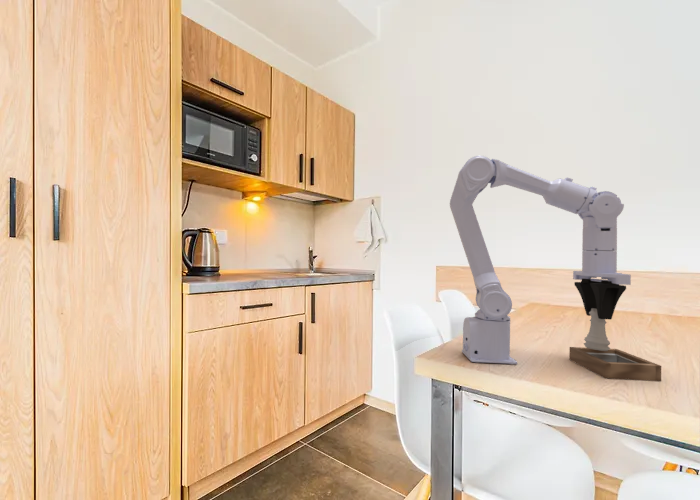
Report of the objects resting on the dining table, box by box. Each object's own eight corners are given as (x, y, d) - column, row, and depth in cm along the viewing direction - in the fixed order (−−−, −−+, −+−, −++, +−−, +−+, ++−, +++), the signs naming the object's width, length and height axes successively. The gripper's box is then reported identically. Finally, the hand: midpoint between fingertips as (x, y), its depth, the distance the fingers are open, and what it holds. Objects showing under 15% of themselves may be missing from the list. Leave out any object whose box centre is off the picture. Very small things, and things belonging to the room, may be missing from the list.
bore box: (604, 378, 64) (605, 363, 64) (569, 359, 75) (569, 346, 75) (661, 380, 63) (661, 365, 63) (616, 361, 74) (616, 348, 74)
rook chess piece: (614, 352, 66) (617, 312, 67) (588, 349, 68) (591, 309, 68) (603, 347, 71) (605, 309, 71) (579, 344, 72) (581, 306, 72)
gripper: (648, 250, 62) (648, 325, 62) (596, 251, 77) (595, 312, 76) (608, 250, 63) (607, 323, 62) (563, 251, 77) (563, 311, 77)
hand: (598, 317), depth 69 cm, fingers closed on rook chess piece, 3 cm apart
